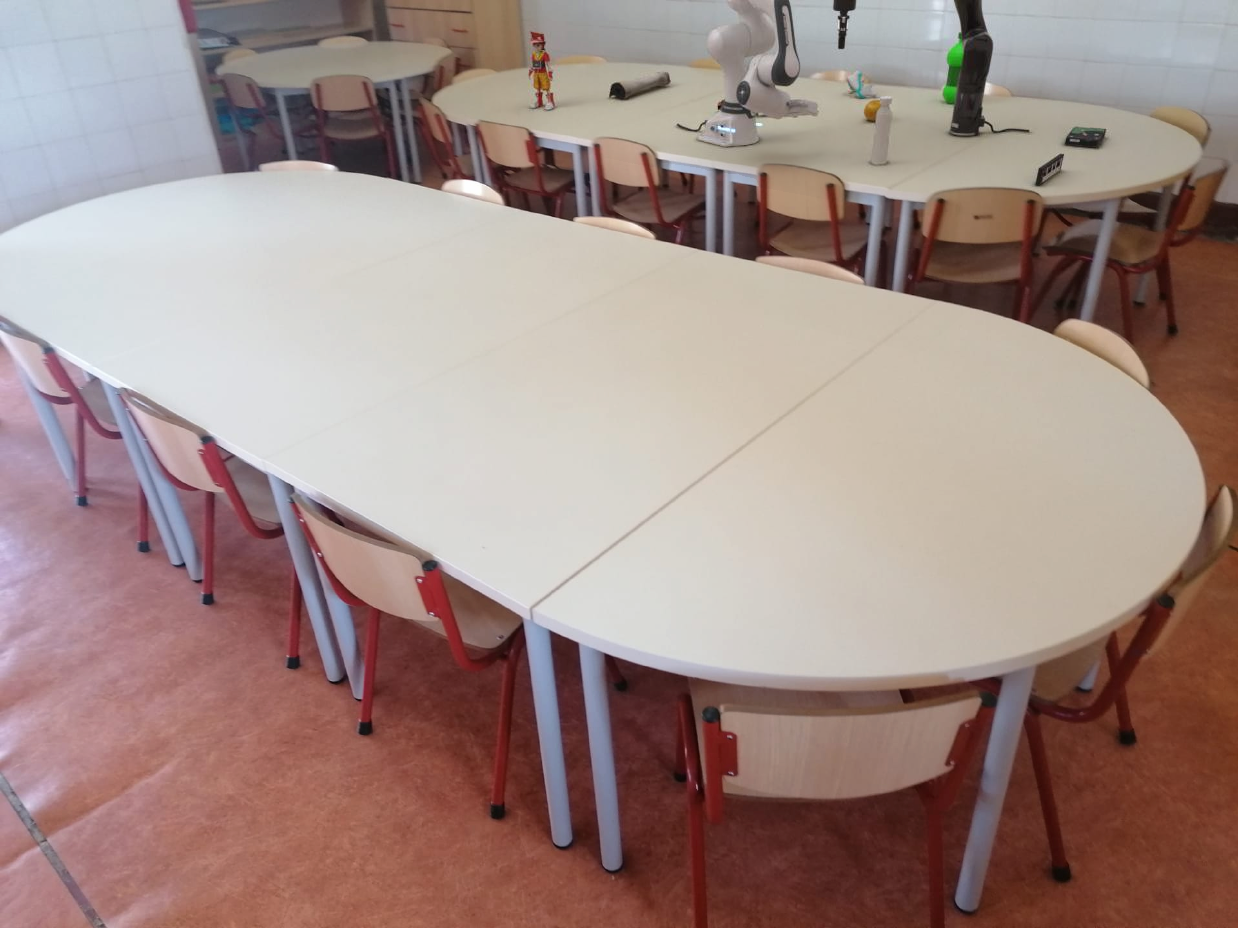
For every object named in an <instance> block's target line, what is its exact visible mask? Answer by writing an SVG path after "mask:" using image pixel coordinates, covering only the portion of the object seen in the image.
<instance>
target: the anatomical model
mask: <svg viewBox="0 0 1238 928" xmlns="http://www.w3.org/2000/svg"><path fill="white" fill-rule="evenodd" d="M862 77H863V74H862V72H860V71H859V70H858V69H856V70H854V72H853V74H851V75H848V76H846V82H847V85H848V86H849V90H850V91H853V92H856V94H857V96H858V97H859V98H860V99H866V97H876V96H877V95H878V93H877V92H873V91H872V88H873V86H874V85H875V83H873V82H871V83H869V84H867V85H864V82H865V81H866V77H864V78H862Z"/></svg>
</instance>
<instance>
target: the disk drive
mask: <svg viewBox="0 0 1238 928" xmlns="http://www.w3.org/2000/svg"><path fill="white" fill-rule="evenodd" d="M1106 133H1107V128H1100V127H1083V126H1074V127H1073V128H1072V129H1071V131H1070V132H1069V133H1068V134H1067V135H1066V137H1065V140H1064V145H1069V146H1076V147H1086V148H1098V147H1099V146H1100V145H1101V143H1102V140H1103V139H1105V136H1106Z"/></svg>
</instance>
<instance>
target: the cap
mask: <svg viewBox="0 0 1238 928" xmlns="http://www.w3.org/2000/svg"><path fill="white" fill-rule="evenodd" d="M879 100H880V104H882V105H889V106H890V105H891V104H892V101H893V97H892V96H890V95H883V96H880V97H879Z"/></svg>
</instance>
